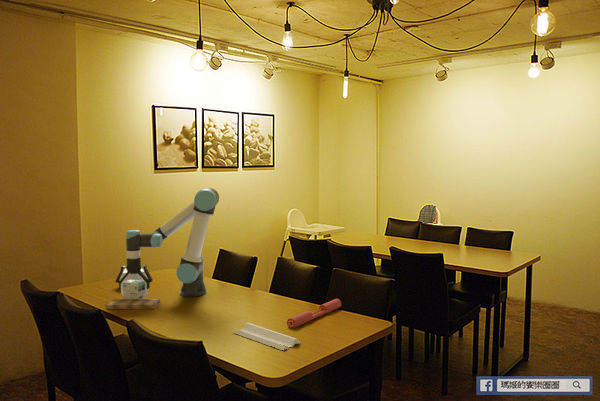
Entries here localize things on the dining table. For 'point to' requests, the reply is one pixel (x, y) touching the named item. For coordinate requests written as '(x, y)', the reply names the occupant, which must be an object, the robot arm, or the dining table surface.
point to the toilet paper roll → (132, 276)
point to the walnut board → (134, 304)
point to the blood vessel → (313, 313)
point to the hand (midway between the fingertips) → (134, 294)
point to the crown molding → (266, 336)
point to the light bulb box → (134, 289)
